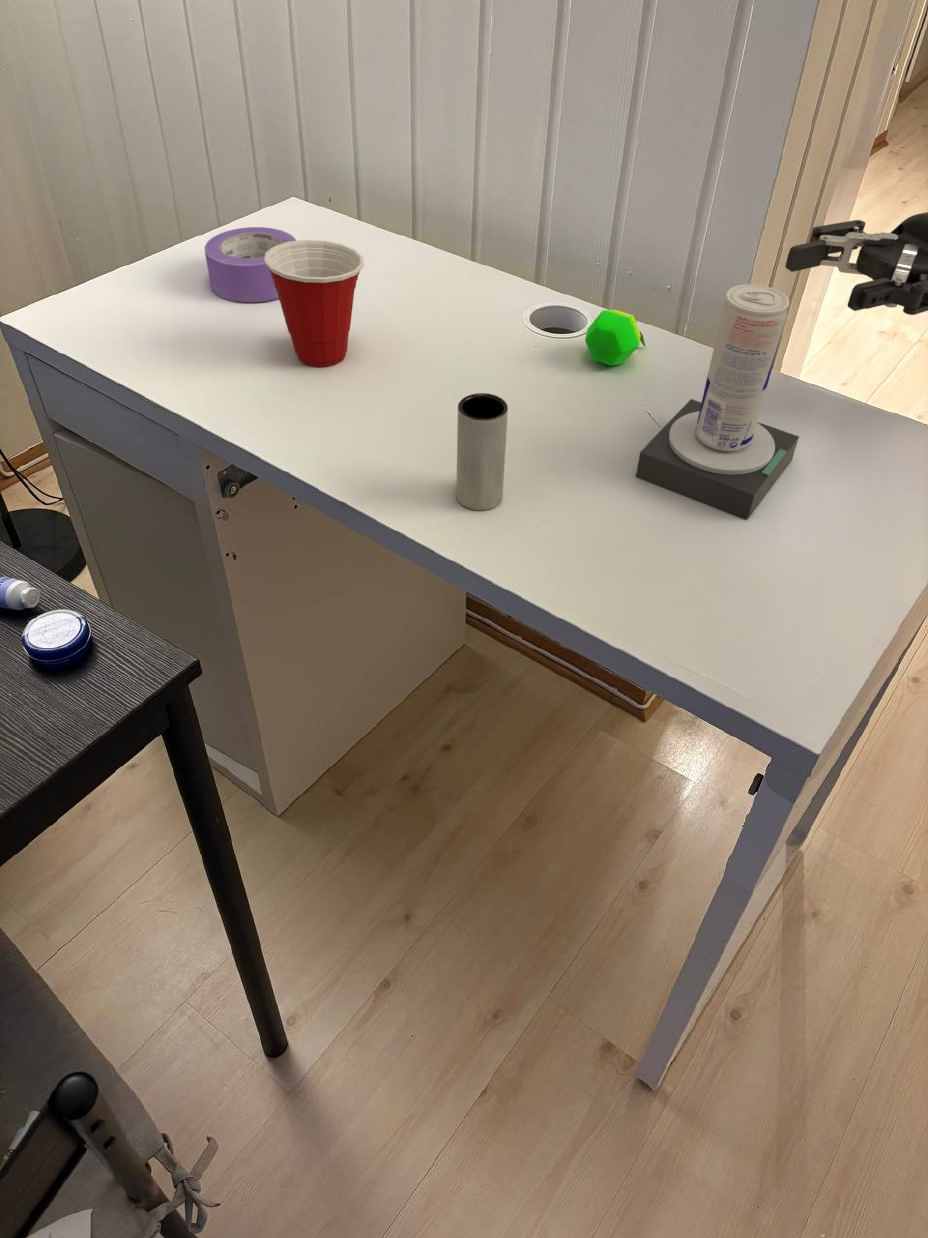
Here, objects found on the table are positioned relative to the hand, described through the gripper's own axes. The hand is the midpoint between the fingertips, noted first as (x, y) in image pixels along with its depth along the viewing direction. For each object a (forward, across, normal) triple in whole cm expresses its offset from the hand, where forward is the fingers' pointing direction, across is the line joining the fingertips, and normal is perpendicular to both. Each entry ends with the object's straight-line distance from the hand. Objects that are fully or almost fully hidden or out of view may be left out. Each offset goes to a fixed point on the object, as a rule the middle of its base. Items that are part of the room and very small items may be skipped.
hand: (820, 278), depth 87 cm
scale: (+7, 0, +19) cm, 20 cm away
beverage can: (+7, 0, +16) cm, 17 cm away
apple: (+4, -24, +19) cm, 31 cm away
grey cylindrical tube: (+31, -6, +19) cm, 37 cm away
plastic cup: (+36, -38, +19) cm, 55 cm away
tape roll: (+37, -59, +19) cm, 72 cm away
